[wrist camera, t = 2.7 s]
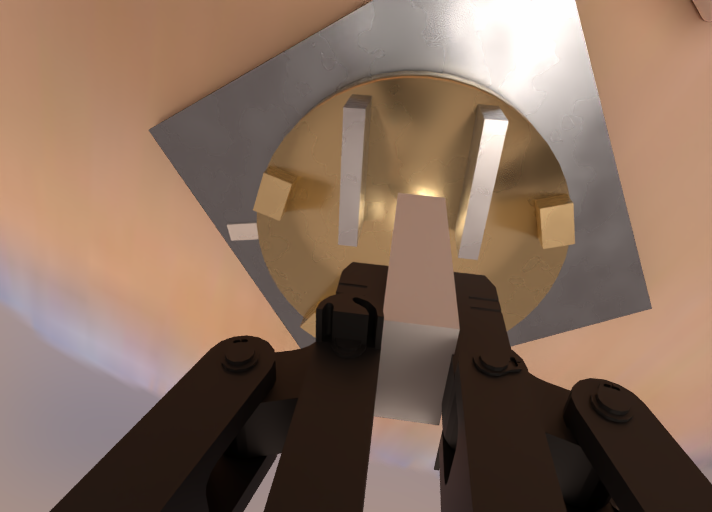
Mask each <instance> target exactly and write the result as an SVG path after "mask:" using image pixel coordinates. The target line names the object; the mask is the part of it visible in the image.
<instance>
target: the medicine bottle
mask: <svg viewBox="0 0 712 512" xmlns="http://www.w3.org/2000/svg"><path fill="white" fill-rule="evenodd" d="M692 1H693V2H694V4H695V6H696V8H697V10H698V11H699V13H700V15H701V17H702V18H703V19H704V20H705V21H707V22H712V0H692Z"/></svg>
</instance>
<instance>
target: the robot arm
mask: <svg viewBox="0 0 712 512" xmlns="http://www.w3.org/2000/svg"><path fill="white" fill-rule="evenodd" d="M441 414H442V425H443V430H442V435H441V439H440V444H439V448H438V453H437V457H436V462H435V466H434V470H439V468H440V490H441V491H440V492H441V512H712V484H711V483H710V482H709V480H708V479H707V478H706V477H705V476H704V474H703V473H702V472H701V471H700V470H699V468H698V467H697V466H696V465H695V464H694V462H693V461H692V460H691V459H690V458H689V456H688V455H687V454H686V453H685V452H684V450H683V449H682V448H681V447H680V446H679V444H678V443H677V442H676V441H675V440H674V438H673V437H672V436H671V435H670V434H669V432H668V431H667V430H666V429H665V428H664V426H663V425H662V424H661V423H660V422H659V420H658V419H657V418H656V417H655V416H654V414H653V413H652V412H651V411H650V410H649V408H648V407H647V406H646V405H645V404H644V403H643V402H642V401H641V400H640V399H639V398H638V397H637V396H636V395H635V394H634V393H632V392H631V391H629V390H627V389H625V388H624V387H622V386H620V385H618V384H615V383H613V382H610V381H607V380H603V379H593V378H589V379H585V380H580V381H578V382H577V383H576V384H575V385H574V386H573V387H572V390H571V391H570V390H567V389H564V388H562V387H559V386H556V385H553V384H551V383H548V382H545V381H543V380H541V379H539V378H537V377H535V376H533V375H532V374H530V373H529V372H528V369H527V367H526V365H525V363H524V361H523V359H522V358H521V357H520V356H518V355H517V354H516V353H515V352H514V351H513V350H511V347H510V343H509V338H508V334H507V330H506V326H505V322H504V318H503V314H502V313H501V306H500V302H499V298H498V294H497V290H496V287H495V286H494V285H493V284H492V283H491V281H490V280H489V279H488V278H487V277H486V276H485V275H477V274H468V273H460V272H453V263H452V254H451V245H450V236H449V227H448V218H447V209H446V200H445V198H444V197H434V196H424V195H414V194H404V193H398V196H397V204H396V212H395V220H394V228H393V236H392V244H391V252H390V260H389V266H385V265H376V264H367V263H358V262H352V263H351V264H350V265H348V266H347V267H346V268H345V269H344V270H343V271H342V273H341V276H340V280H339V284H338V287H337V290H336V294H335V295H332V296H329V297H328V298H326V299H324V300H322V301H321V302H320V304H319V305H318V306H317V308H316V342H314V343H313V344H311V345H309V346H307V347H304V348H302V349H297V350H292V351H284V352H274V349H273V348H272V346H271V345H270V344H269V342H267V341H265V340H263V339H261V338H259V337H253V336H247V335H246V336H237V337H232V338H229V339H226V340H223V341H221V342H220V343H218V344H217V345H215V346H214V347H213V348H211V349H210V350H209V351H208V352H207V353H206V354H205V355H204V356H203V357H202V358H201V359H200V360H199V361H198V362H197V363H196V364H195V365H194V366H193V367H192V368H191V369H190V370H189V371H188V372H187V373H186V374H185V375H184V376H183V377H182V378H181V379H180V381H179V382H178V383H177V384H176V385H175V386H174V387H173V388H172V389H171V390H170V391H169V392H168V393H167V394H166V395H165V396H164V397H163V398H162V399H161V400H160V401H159V402H158V403H157V404H156V405H155V406H154V407H153V408H152V409H151V410H150V411H149V412H148V413H147V414H146V415H145V416H144V417H143V418H142V419H141V420H140V421H139V422H138V423H137V424H136V425H135V426H134V427H133V428H132V429H131V430H130V431H129V432H128V433H127V434H126V435H125V436H124V437H123V438H122V439H121V440H120V441H119V442H118V443H117V444H116V445H115V446H114V447H113V448H112V449H111V450H110V451H109V452H108V453H107V454H106V455H105V456H104V457H103V458H102V459H101V460H100V461H99V462H98V464H96V465H95V466H94V468H92V469H91V470H90V471H89V472H88V473H87V474H86V475H85V476H84V477H83V478H82V479H81V480H80V481H79V482H78V484H76V485H75V486H74V487H73V488H72V489H71V490H70V491H69V493H68V494H67V495H66V496H65V497H64V498H63V499H62V500H61V501H60V502H59V503H58V504H57V505H56V506H55V507H54V508H53V509H52V510H51V511H50V512H243V511H244V510H245V508H246V507H247V505H248V503H249V502H250V500H251V498H252V497H253V495H254V493H255V492H256V490H257V489H258V487H259V485H260V484H261V482H262V480H263V479H264V477H265V476H266V474H267V472H268V471H269V469H270V467H271V466H272V464H273V462H274V460H275V459H276V457H277V454H279V453H281V457H280V460H279V463H278V467H277V470H276V473H275V476H274V479H273V483H272V486H271V489H270V493H269V496H268V499H267V503H266V506H265V509H264V512H363V507H364V498H365V489H366V480H367V471H368V462H369V454H370V445H371V436H372V426H373V417H374V416H376V417H383V418H390V419H397V420H404V421H412V422H419V423H426V424H433V425H439V423H440V418H441Z"/></svg>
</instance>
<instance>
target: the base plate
mask: <svg viewBox="0 0 712 512" xmlns="http://www.w3.org/2000/svg"><path fill="white" fill-rule="evenodd" d="M398 71H432V72H439V73H446V74H451V75H454V76H458V77H461V78H464V79H468V80H471V81H473V82H475V83H477V84H480V85H482V86H484V87H486V88H488V89H491V90H492V91H494V92H495V93H497V94H498V95H500V96H501V97H503V98H504V99H506V100H507V101H509V102H510V103H511V104H512V105H513V106H515V107H516V108H517V109H518V110H519V111H520V112H521V113H522V114H524V115H525V117H526V118H527V119H528V120H529V121H530V123H531V124H532V125H533V126H534V127H535V129H536V130H537V131H538V132H539V134H540V135H541V136H542V137H543V139H544V140H545V141H546V142H547V144H548V145H549V147H550V148H551V150H552V152H553V153H554V155H555V157H556V159H557V160H558V162H559V164H560V167H561V169H562V172H563V174H564V177H565V179H566V182H567V186H568V191H569V195H570V199H571V200H572V202H573V204H574V230H575V244H572V245H569V246H568V250H567V254H566V258H565V261H564V263H563V265H562V268H561V270H560V273H559V275H558V277H557V279H556V280H555V282H554V284H553V285H552V287H551V289H550V290H549V292H548V293H547V294H546V296H545V297H544V298H543V299H542V301H541V302H540V303H539V304H538V306H537V307H536V308H535V309H534V310H533V311H532V312H531V313H530V314H529V315H527V316H526V317H525V318H524V319H523V320H522V321H520V322H519V323H518V324H517V325H515V326H514V327H513V328H511V329H510V330H508V331H507V334H508V338H509V343H510V347H511V346H514V345H518V344H522V343H526V342H529V341H533V340H537V339H540V338H544V337H548V336H552V335H555V334H559V333H563V332H566V331H570V330H574V329H578V328H581V327H585V326H589V325H592V324H596V323H600V322H604V321H607V320H611V319H615V318H618V317H622V316H626V315H630V314H633V313H637V312H641V311H644V310H648V309H652V307H651V303H650V299H649V295H648V291H647V287H646V283H645V279H644V275H643V271H642V267H641V263H640V259H639V255H638V251H637V247H636V243H635V239H634V235H633V231H632V227H631V223H630V219H629V215H628V211H627V207H626V203H625V199H624V195H623V191H622V187H621V183H620V179H619V175H618V171H617V167H616V163H615V159H614V155H613V151H612V147H611V143H610V139H609V135H608V131H607V127H606V123H605V119H604V115H603V111H602V107H601V103H600V99H599V95H598V91H597V87H596V83H595V79H594V75H593V71H592V67H591V63H590V59H589V55H588V51H587V47H586V43H585V39H584V35H583V31H582V27H581V23H580V19H579V15H578V11H577V7H576V3H575V0H373V1H371V2H369V3H367V4H366V5H364V6H362V7H360V8H359V9H357V10H355V11H354V12H352V13H350V14H348V15H347V16H345V17H343V18H341V19H340V20H338V21H336V22H334V23H333V24H331V25H329V26H328V27H326V28H324V29H322V30H321V31H319V32H317V33H315V34H314V35H312V36H310V37H309V38H307V39H305V40H303V41H302V42H300V43H298V44H296V45H295V46H293V47H291V48H289V49H288V50H286V51H284V52H283V53H281V54H279V55H277V56H276V57H274V58H272V59H270V60H269V61H267V62H265V63H263V64H262V65H260V66H258V67H257V68H255V69H253V70H251V71H250V72H248V73H246V74H244V75H243V76H241V77H239V78H238V79H236V80H234V81H232V82H231V83H229V84H227V85H225V86H224V87H222V88H220V89H218V90H217V91H215V92H213V93H212V94H210V95H208V96H206V97H205V98H203V99H201V100H199V101H198V102H196V103H194V104H193V105H191V106H189V107H187V108H186V109H184V110H182V111H180V112H179V113H177V114H175V115H173V116H172V117H170V118H168V119H167V120H165V121H163V122H161V123H160V124H158V125H156V126H154V127H153V128H151V129H149V131H150V133H151V134H152V136H153V137H154V139H155V140H156V142H157V143H158V144H159V146H160V147H161V149H162V150H163V152H164V153H165V154H166V156H167V157H168V159H169V160H170V162H171V163H172V164H173V166H174V167H175V169H176V170H177V172H178V173H179V175H180V176H181V177H182V179H183V180H184V182H185V183H186V185H187V186H188V187H189V189H190V190H191V192H192V193H193V195H194V196H195V197H196V199H197V200H198V202H199V203H200V205H201V206H202V208H203V209H204V210H205V212H206V213H207V215H208V216H209V218H210V219H211V220H212V222H213V223H214V225H215V226H216V228H217V229H218V231H219V232H220V233H221V235H222V236H223V238H224V239H225V241H226V242H227V243H228V245H229V246H230V248H231V249H232V251H233V252H234V253H235V255H236V256H237V258H238V259H239V261H240V262H241V264H242V265H243V266H244V268H245V269H246V271H247V272H248V274H249V275H250V276H251V278H252V279H253V281H254V282H255V284H256V285H257V286H258V288H259V289H260V291H261V292H262V294H263V295H264V297H265V298H266V299H267V301H268V302H269V304H270V305H271V307H272V308H273V309H274V311H275V312H276V314H277V315H278V317H279V318H280V320H281V321H282V322H283V324H284V325H285V327H286V328H287V330H288V331H289V332H290V334H291V335H292V337H293V338H294V340H295V341H296V342H297V344H298V345H299V347H300V348H301V349H302V348H304V347H307V346H309V345H311V344H313V343H314V342H316V338H315V337H313V336H312V335H310V334H309V333H308V332H306V331H305V330H303V329H302V328H300V325H301V323H302V320H303V316H302V315H301V314H300V313H299V312H298V311H297V310H296V309H295V308H294V307H293V306H292V305H291V304H290V303H289V302H288V301H287V299H286V298H285V297H284V295H283V294H282V293H281V291H280V290H279V289H278V287H277V285H276V283H275V282H274V280H273V278H272V277H271V275H270V273H269V270H268V268H267V266H266V263H265V261H264V259H263V255H262V251H261V248H260V244H259V239H258V231H257V212H256V211H253V208H254V204H255V201H256V197H257V194H258V190H259V187H260V183H261V180H262V177H263V173H264V172H265V171H266V169H267V166H268V164H269V162H270V160H271V158H272V156H273V154H274V152H275V151H276V149H277V148H278V146H279V145H280V144H281V142H282V141H283V139H284V138H285V136H286V135H287V134H288V133H289V132H290V131H291V130H292V129H293V128H294V127H295V125H296V124H297V123H298V122H299V121H300V120H301V119H302V118H303V117H304V116H305V115H306V114H307V113H308V112H309V111H310V110H311V109H312V108H313V107H315V106H316V105H317V104H318V103H319V102H321V101H322V100H323V99H324V98H326V97H328V96H329V95H331V94H333V93H334V92H336V91H337V90H339V89H341V88H343V87H345V86H347V85H350V84H352V83H354V82H356V81H359V80H361V79H364V78H368V77H372V76H375V75H379V74H382V73H390V72H398Z"/></svg>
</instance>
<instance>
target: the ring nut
mask: <svg viewBox="0 0 712 512" xmlns="http://www.w3.org/2000/svg"><path fill="white" fill-rule="evenodd" d="M398 193H404V194H414V195H424V196H434V197H444V198H445V200H446V209H447V218H448V227H449V236H450V245H451V254H452V263H453V272H460V273H468V274H477V275H485V276H486V277H487V278H488V279H489V280H490V281H491V283H492V284H493V285H494V286H495V287H496V290H497V294H498V298H499V302H500V306H501V313H502V314H503V318H504V322H505V326H506V330H507V331H508V330H510V329H511V328H513V327H514V326H515V325H517V324H518V323H519V322H520V321H522V320H523V319H524V318H525V317H526V316H527V315H529V314H530V313H531V312H532V311H533V310H534V309H535V308H536V307H537V306H538V304H539V303H540V302H541V301H542V299H543V298H544V297H545V296H546V294H547V293H548V292H549V290H550V289H551V287H552V285H553V284H554V282H555V280H556V279H557V277H558V275H559V273H560V270H561V268H562V265H563V263H564V261H565V258H566V254H567V250H568V246H569V245H572V244H575V230H574V204H573V202H572V200H571V199H570V195H569V191H568V186H567V182H566V179H565V177H564V174H563V172H562V169H561V167H560V164H559V162H558V160H557V159H556V157H555V155H554V153H553V152H552V150H551V148H550V147H549V145H548V144H547V142H546V141H545V140H544V139H543V137H542V136H541V135H540V134H539V132H538V131H537V130H536V129H535V127H534V126H533V125H532V124H531V123H530V121H529V120H528V119H527V118H526V117H525V115H524V114H522V113H521V112H520V111H519V110H518V109H517V108H516V107H515V106H513V105H512V104H511V103H510V102H509V101H507V100H506V99H504V98H503V97H501V96H500V95H498V94H497V93H495V92H494V91H492V90H491V89H488V88H486V87H484V86H482V85H480V84H477V83H475V82H473V81H471V80H468V79H464V78H461V77H458V76H454V75H451V74H446V73H439V72H432V71H398V72H390V73H382V74H379V75H375V76H372V77H368V78H364V79H361V80H359V81H356V82H354V83H352V84H350V85H347V86H345V87H343V88H341V89H339V90H337V91H336V92H334V93H333V94H331V95H329V96H328V97H326V98H324V99H323V100H322V101H321V102H319V103H318V104H317V105H316V106H315V107H313V108H312V109H311V110H310V111H309V112H308V113H307V114H306V115H305V116H304V117H303V118H302V119H301V120H300V121H299V122H298V123H297V124H296V125H295V127H294V128H293V129H292V130H291V131H290V132H289V133H288V134H287V135H286V136H285V138H284V139H283V141H282V142H281V144H280V145H279V146H278V148H277V149H276V151H275V152H274V154H273V156H272V158H271V160H270V162H269V164H268V166H267V169H266V171H265V172H264V173H263V177H262V180H261V183H260V187H259V190H258V194H257V197H256V201H255V204H254V208H253V211H256V212H257V231H258V239H259V244H260V248H261V251H262V255H263V259H264V261H265V263H266V266H267V268H268V270H269V273H270V275H271V277H272V278H273V280H274V282H275V283H276V285H277V287H278V289H279V290H280V291H281V293H282V294H283V295H284V297H285V298H286V299H287V301H288V302H289V303H290V304H291V305H292V306H293V307H294V308H295V309H296V310H297V311H298V312H299V313H300V314H301V315H302V316H303V320H302V323H301V325H300V328H302V329H303V330H305V331H306V332H308V333H309V334H310V335H312V336H313V337H315V338H316V308H317V306H318V305H319V304H320V302H321V301H322V300H324V299H326V298H328V297H329V296H332V295H335V294H336V290H337V287H338V284H339V280H340V276H341V273H342V271H343V270H344V269H345V268H346V267H347V266H348V265H350V264H351V263H352V262H358V263H367V264H376V265H385V266H389V260H390V252H391V244H392V236H393V228H394V220H395V212H396V204H397V196H398Z"/></svg>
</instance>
